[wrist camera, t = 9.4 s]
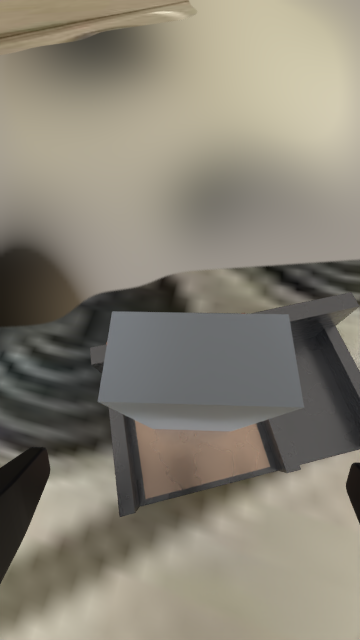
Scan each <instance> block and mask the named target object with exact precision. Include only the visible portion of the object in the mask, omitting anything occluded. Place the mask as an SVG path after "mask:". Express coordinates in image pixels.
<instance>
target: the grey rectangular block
mask: <svg viewBox="0 0 360 640" xmlns="http://www.w3.org/2000/svg"><path fill="white" fill-rule="evenodd" d="M98 402H99V403H101V404H103V405H105V406H107V407H110V408H112V409H114V410H116V411H118V412H120V413H122V414H124V415H126V416H128V417H130V418H132V419H134V420H136V421H138V422H140V423H142V424H144V425H146V426H148V427H150V428H152V429H171V430H202V431H234V430H237V429H240V428H243V427H246V426H249V425H252V424H255V423H258V422H261V421H265V420H268V419H271V418H274V417H277V416H280V415H283V414H286V413H289V412H292V411H295V410H298V409H301V408H304V403H303V397H302V391H301V385H300V379H299V373H298V367H297V361H296V355H295V349H294V343H293V337H292V331H291V325H290V319H289V314H235V313H174V312H113V311H112V316H111V322H110V328H109V335H108V341H107V347H106V353H105V360H104V366H103V372H102V378H101V385H100V391H99V397H98Z"/></svg>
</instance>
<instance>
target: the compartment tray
mask: <svg viewBox="0 0 360 640" xmlns="http://www.w3.org/2000/svg"><path fill="white" fill-rule="evenodd" d="M358 307H359V305H358V303H357V301H356V300H355V298H354V296H353V294H352V293H351V292H350V293H345V294H340V295H336V296H331V297H326V298H322V299H317V300H312V301H308V302H303V303H298V304H294V305H289V306H284V307H279V308H275V309H270V310H265V311H261V312H256V313H251V314H289V319H290V325H291V331H292V337H293V343H294V349H295V355H296V361H297V367H298V373H299V379H300V385H301V391H302V397H303V403H304V408H301V409H298V410H295V411H292V412H289V413H286V414H283V415H280V416H277V417H274V418H271V419H268V420H265V421H261V422H258V423H255V424H252V425H249V426H246V427H243V428H240V429H237V430H234V431H202V430H171V429H152V428H150V427H148V426H146V425H144V424H142V423H140V422H138V421H136V420H134V419H132V418H130V417H128V416H126V415H124V414H122V413H120V412H118V411H116V410H114V409H112V408H110V407H109V414H110V424H111V435H112V445H113V455H114V465H115V475H116V485H117V495H118V505H119V515H120V517H122V516H125V515H129V514H133V513H135V512H136V511H137V510H138V508H139V507H140V506H144V505H148V504H152V503H156V502H159V501H163V500H167V499H171V498H175V497H179V496H182V495H186V494H190V493H194V492H198V491H201V490H205V489H209V488H213V487H217V486H221V485H224V484H228V483H232V482H236V481H240V480H244V479H247V478H251V477H255V476H259V475H263V474H267V473H270V472H274V471H281V472H285V473H289V472H293V471H297V470H301V468H300V466H299V465H301V464H305V463H309V462H313V461H316V460H320V459H324V458H328V457H332V456H336V455H339V454H343V453H347V452H351V451H355V450H359V449H360V372H359V370H358V368H357V366H356V364H355V362H354V360H353V358H352V356H351V355H350V353H349V351H348V349H347V347H346V345H345V343H344V341H343V339H342V338H341V336H340V334H339V332H338V330H337V328H336V325H337V324H338V323H340V322H341V321H342V320H343V319H345V318H346V317H347V316H348V315H349V314H351V313H352V312H353V311H354V310H356V309H357V308H358ZM241 314H245V313H241ZM106 343H107V342H106ZM106 347H107V344H106V345H101V346H97V347H92V348H90V352H91V365H92V366H94V367H95V368H96V369H97V370H98V371H99V372H101V373H102V372H103V366H104V360H105V353H106Z"/></svg>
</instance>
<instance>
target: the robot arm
mask: <svg viewBox="0 0 360 640" xmlns="http://www.w3.org/2000/svg"><path fill="white" fill-rule="evenodd" d="M49 474H50V464H49V459H48V453H47V450H46V448H44V447H31V448H29V449H28V450H26V451H25V452H23V453H22V454H20V455H19V456H17V457H16V458H14V459H13V460H11V461H10V462H8V463H7V464H6V465H4V466H3V467H1V468H0V584H1V582H2V580H3V578H4V576H5V574H6V572H7V570H8V568H9V566H10V564H11V562H12V560H13V558H14V556H15V554H16V552H17V550H18V548H19V546H20V544H21V542H22V540H23V538H24V536H25V534H26V532H27V529H28V527H29V525H30V522H31V520H32V517H33V515H34V512H35V510H36V507H37V505H38V502H39V500H40V497H41V495H42V493H43V490H44V488H45V485H46V483H47V480H48V478H49ZM346 490H347V493H348V496H349V498H350V501H351V503H352V506H353V508H354V511H355V513H356V516H357V518H358V521H359V523H360V463H353V464H352V465H351V468H350V472H349V475H348V479H347V482H346Z"/></svg>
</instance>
